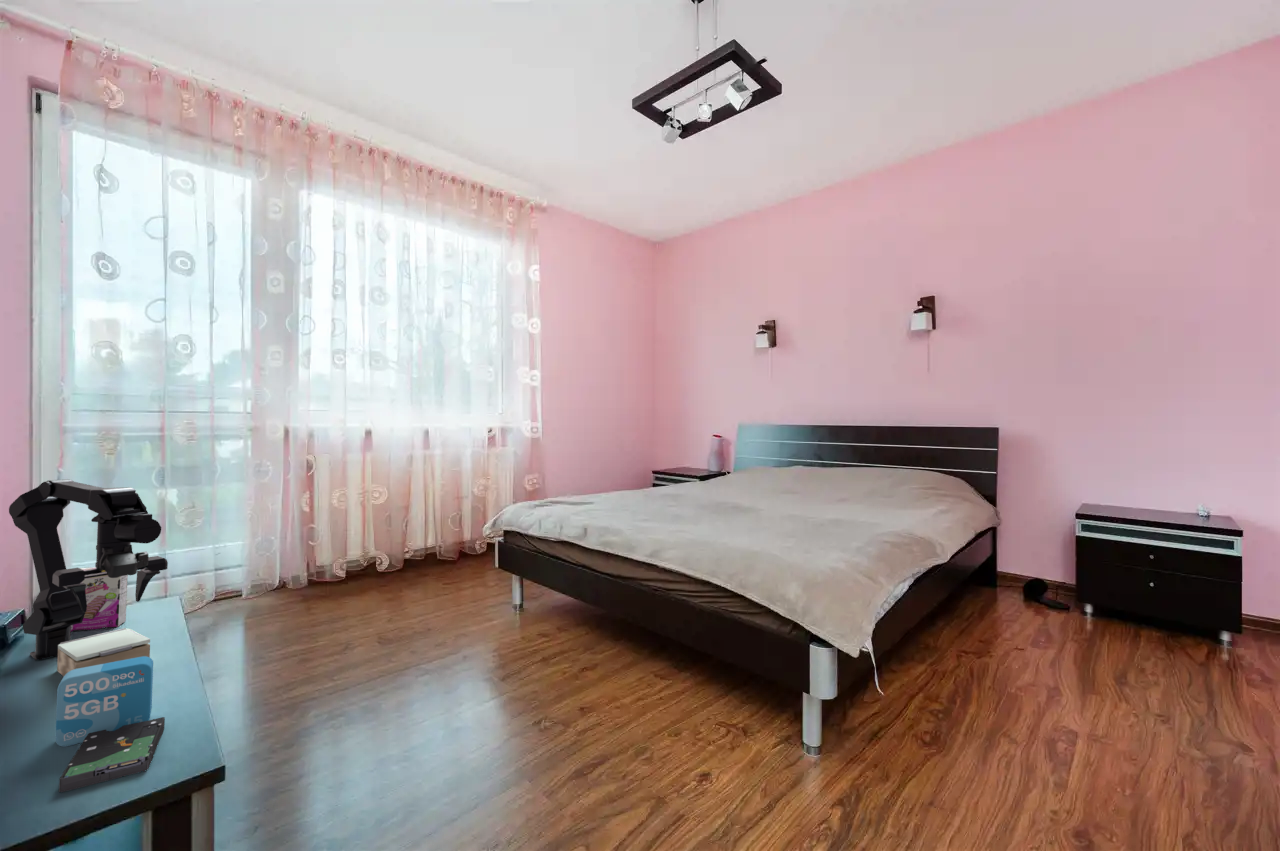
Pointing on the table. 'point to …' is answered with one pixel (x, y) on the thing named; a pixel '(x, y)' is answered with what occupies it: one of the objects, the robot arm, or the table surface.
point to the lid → (102, 644)
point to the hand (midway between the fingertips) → (111, 606)
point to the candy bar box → (104, 602)
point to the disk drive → (113, 754)
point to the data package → (103, 698)
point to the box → (99, 658)
